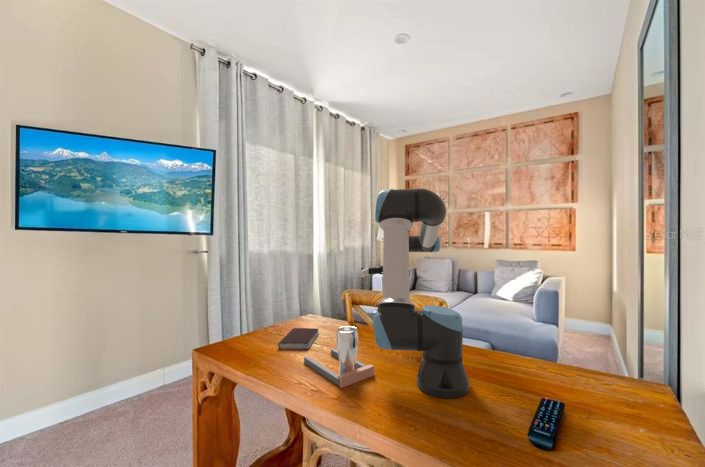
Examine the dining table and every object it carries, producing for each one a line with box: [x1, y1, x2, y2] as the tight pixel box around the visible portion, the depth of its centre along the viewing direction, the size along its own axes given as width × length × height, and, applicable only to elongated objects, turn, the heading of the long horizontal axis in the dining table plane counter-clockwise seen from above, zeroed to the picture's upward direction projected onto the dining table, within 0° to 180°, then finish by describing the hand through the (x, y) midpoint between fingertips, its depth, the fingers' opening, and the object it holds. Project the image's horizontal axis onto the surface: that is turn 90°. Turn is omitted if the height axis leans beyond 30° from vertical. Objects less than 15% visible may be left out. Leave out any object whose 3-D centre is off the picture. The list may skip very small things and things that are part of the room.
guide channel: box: [303, 348, 375, 389], centre depth 110 cm, size 23×13×3 cm, turn 38°
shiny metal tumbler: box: [336, 325, 359, 375], centre depth 105 cm, size 7×7×15 cm
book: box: [277, 327, 320, 351], centre depth 137 cm, size 12×19×3 cm, turn 173°
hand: (378, 274), depth 122 cm, fingers open, 13 cm apart
